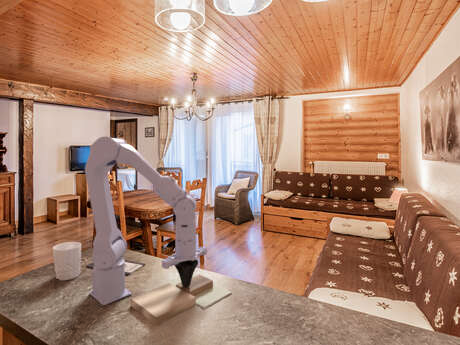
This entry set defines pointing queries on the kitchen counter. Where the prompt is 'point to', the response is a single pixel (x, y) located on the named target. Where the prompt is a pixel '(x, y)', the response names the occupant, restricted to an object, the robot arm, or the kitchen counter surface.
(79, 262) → the white cup
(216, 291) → the sage mat
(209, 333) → the kitchen counter surface
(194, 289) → the walnut tile
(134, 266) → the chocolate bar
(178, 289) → the block
